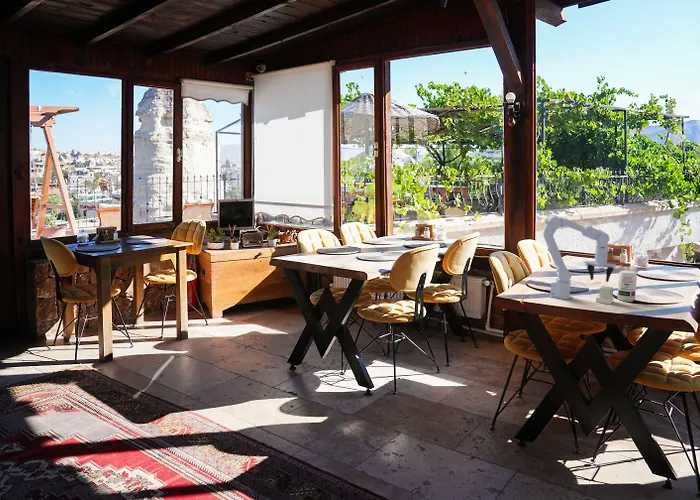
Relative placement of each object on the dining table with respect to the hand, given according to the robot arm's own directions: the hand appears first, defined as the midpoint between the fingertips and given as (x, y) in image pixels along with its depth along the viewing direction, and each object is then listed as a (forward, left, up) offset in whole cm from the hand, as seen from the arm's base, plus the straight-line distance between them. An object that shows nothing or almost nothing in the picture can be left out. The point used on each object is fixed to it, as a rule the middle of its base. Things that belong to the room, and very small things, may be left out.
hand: (599, 280), depth 300 cm
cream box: (+4, -4, -10) cm, 12 cm away
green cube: (+5, -4, -7) cm, 10 cm away
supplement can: (+12, +6, -10) cm, 17 cm away
